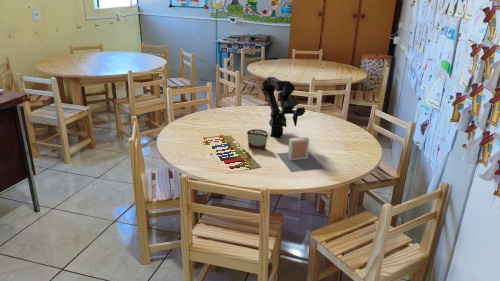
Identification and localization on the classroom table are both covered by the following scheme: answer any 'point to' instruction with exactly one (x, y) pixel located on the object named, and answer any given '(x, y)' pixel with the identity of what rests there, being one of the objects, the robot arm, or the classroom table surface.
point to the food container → (257, 139)
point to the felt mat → (300, 163)
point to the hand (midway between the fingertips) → (290, 126)
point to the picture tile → (298, 148)
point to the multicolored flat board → (232, 146)
